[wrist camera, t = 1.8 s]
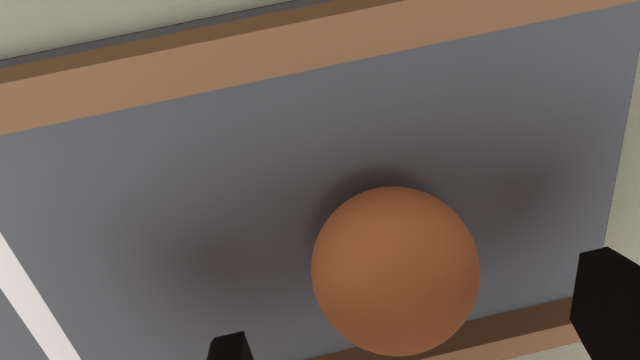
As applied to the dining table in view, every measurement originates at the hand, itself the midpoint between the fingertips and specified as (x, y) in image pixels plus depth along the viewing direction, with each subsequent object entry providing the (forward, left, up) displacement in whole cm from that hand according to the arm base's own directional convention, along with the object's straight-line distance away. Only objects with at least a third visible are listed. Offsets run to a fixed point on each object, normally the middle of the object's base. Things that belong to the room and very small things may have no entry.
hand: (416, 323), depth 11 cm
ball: (0, 0, -2) cm, 2 cm away
